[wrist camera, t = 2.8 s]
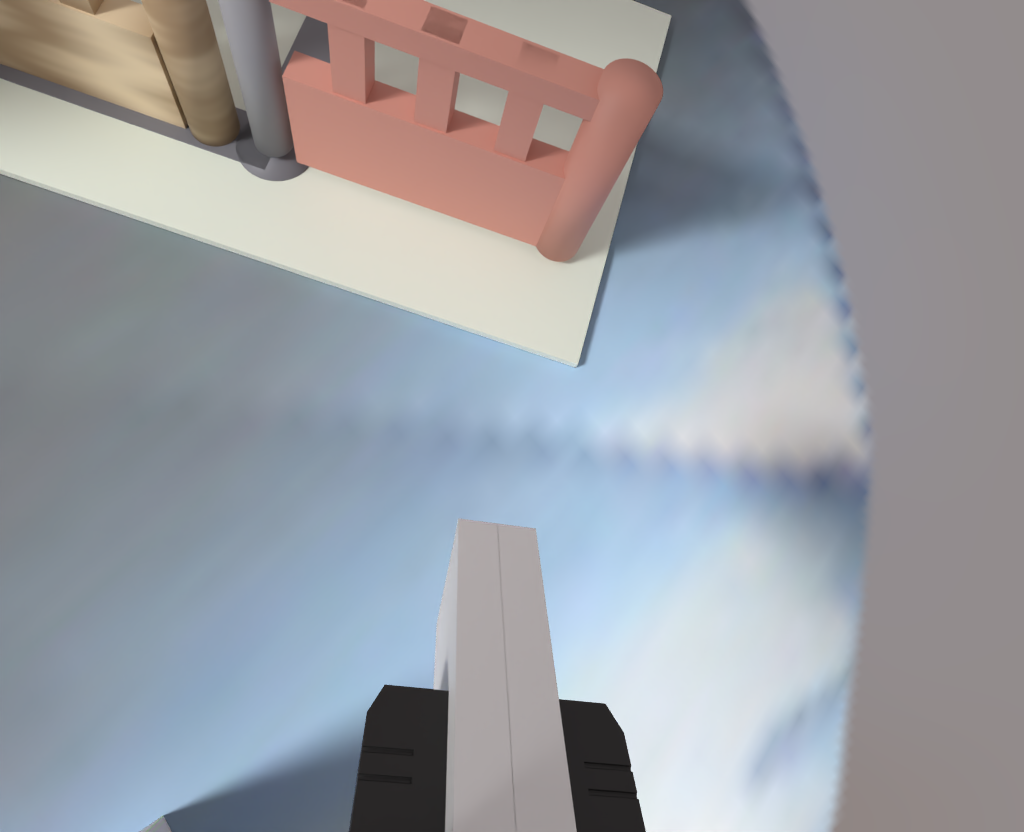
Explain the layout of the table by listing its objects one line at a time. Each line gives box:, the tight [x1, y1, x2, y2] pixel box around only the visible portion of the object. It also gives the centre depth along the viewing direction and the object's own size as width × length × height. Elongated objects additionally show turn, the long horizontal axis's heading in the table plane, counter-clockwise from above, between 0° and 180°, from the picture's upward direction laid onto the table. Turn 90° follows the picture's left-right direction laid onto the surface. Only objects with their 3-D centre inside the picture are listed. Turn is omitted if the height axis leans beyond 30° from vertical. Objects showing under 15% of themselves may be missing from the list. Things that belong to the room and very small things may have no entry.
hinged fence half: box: [218, 0, 663, 262], centre depth 26 cm, size 14×2×10 cm, turn 74°
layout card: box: [0, 0, 671, 367], centre depth 32 cm, size 32×20×1 cm, turn 74°
